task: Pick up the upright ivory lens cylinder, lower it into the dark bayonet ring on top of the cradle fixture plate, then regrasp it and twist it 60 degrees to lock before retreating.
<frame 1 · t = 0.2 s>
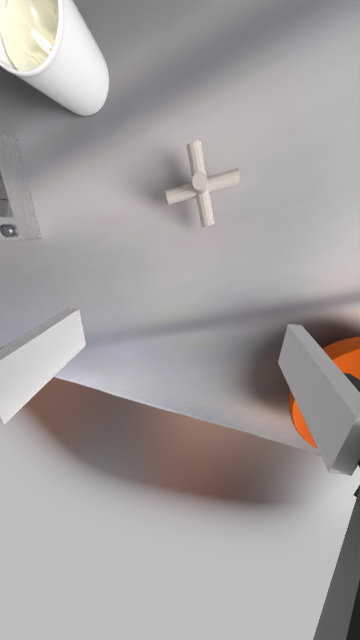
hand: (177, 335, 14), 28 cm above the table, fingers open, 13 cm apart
pipe connector: (203, 192, 34), on the table
candle holder: (82, 79, 31), on the table
cradle fixture plate: (2, 193, 38), on the table
bowl: (340, 370, 44), on the table
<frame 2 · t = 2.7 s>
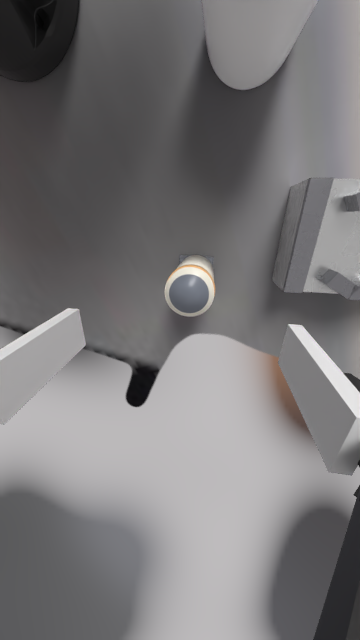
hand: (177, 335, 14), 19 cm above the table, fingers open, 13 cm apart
candle holder: (250, 33, 20), on the table
cradle fixture plate: (344, 239, 26), on the table
lens: (195, 272, 30), on the table
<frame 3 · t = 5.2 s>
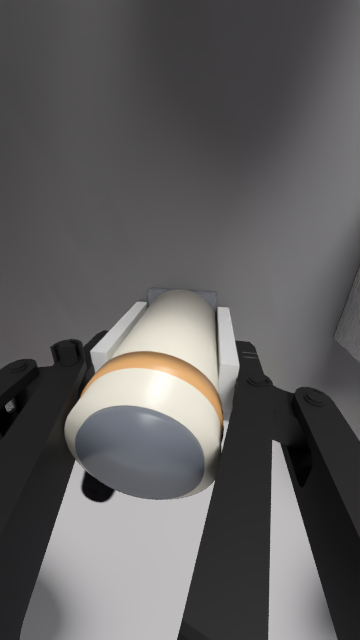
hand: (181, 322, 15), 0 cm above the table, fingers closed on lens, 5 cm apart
lens: (181, 320, 16), on the table, touching gripper
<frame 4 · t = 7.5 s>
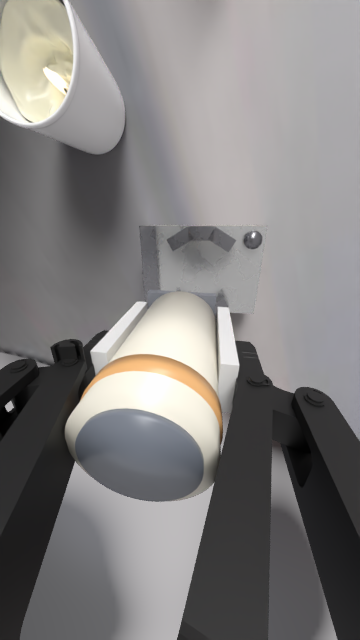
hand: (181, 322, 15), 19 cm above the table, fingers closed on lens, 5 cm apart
candle holder: (94, 114, 26), on the table
cradle fixture plate: (201, 264, 32), on the table
lens: (181, 321, 16), point 19 cm above the table, touching gripper
when the fingers open (7 cm above the table, at t = 10.1 s): lens drops 1 cm, resting on cradle fixture plate.
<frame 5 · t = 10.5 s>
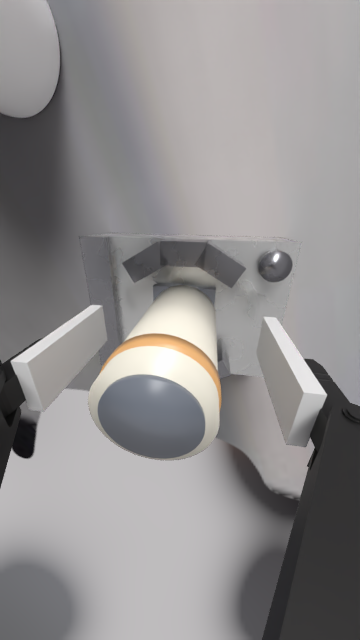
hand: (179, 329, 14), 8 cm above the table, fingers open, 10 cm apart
candle holder: (10, 47, 16), on the table
cradle fixture plate: (190, 293, 21), on the table
lens: (183, 313, 17), point 5 cm above the table, touching cradle fixture plate
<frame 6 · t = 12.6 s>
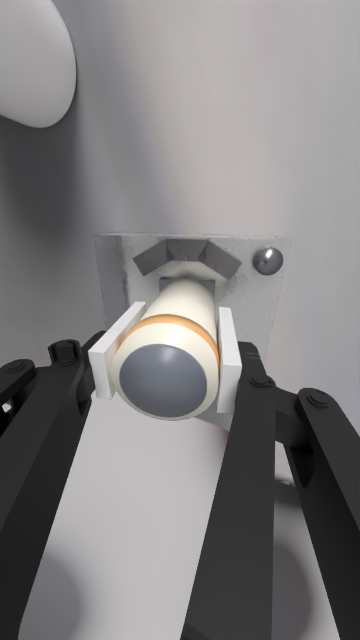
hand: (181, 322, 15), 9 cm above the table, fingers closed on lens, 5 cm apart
candle holder: (31, 65, 18), on the table
cradle fixture plate: (191, 288, 23), on the table
lens: (186, 304, 19), point 5 cm above the table, touching cradle fixture plate, gripper
when the fingers open (9 cm above the table, at t = 13.4 s): lens stays where it is, resting on cradle fixture plate.
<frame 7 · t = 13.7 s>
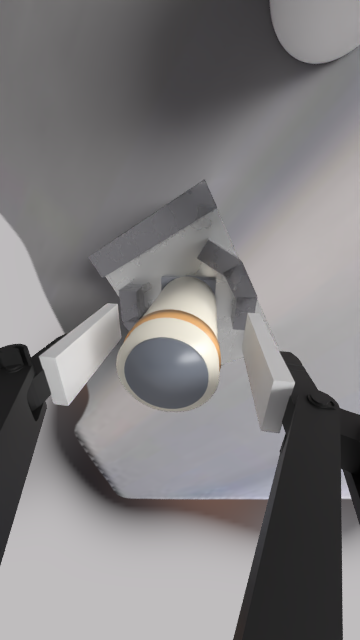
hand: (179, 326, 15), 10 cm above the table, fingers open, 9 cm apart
cradle fixture plate: (192, 286, 24), on the table
lens: (188, 302, 19), point 5 cm above the table, touching cradle fixture plate
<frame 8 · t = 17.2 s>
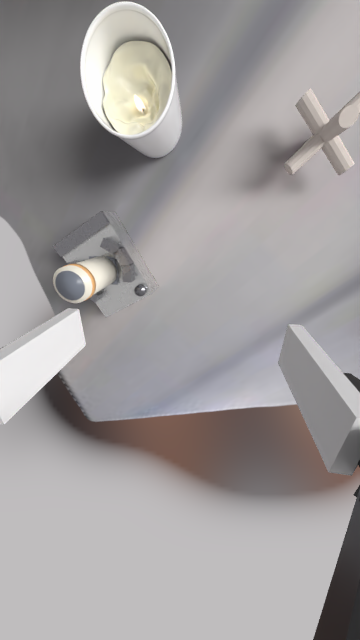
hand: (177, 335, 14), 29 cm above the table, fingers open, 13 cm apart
pipe connector: (308, 147, 31), on the table
candle holder: (155, 125, 32), on the table
cradle fixture plate: (116, 264, 42), on the table
lens: (104, 270, 37), point 5 cm above the table, touching cradle fixture plate
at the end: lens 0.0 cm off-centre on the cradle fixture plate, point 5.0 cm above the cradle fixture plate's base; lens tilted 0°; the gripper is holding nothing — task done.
